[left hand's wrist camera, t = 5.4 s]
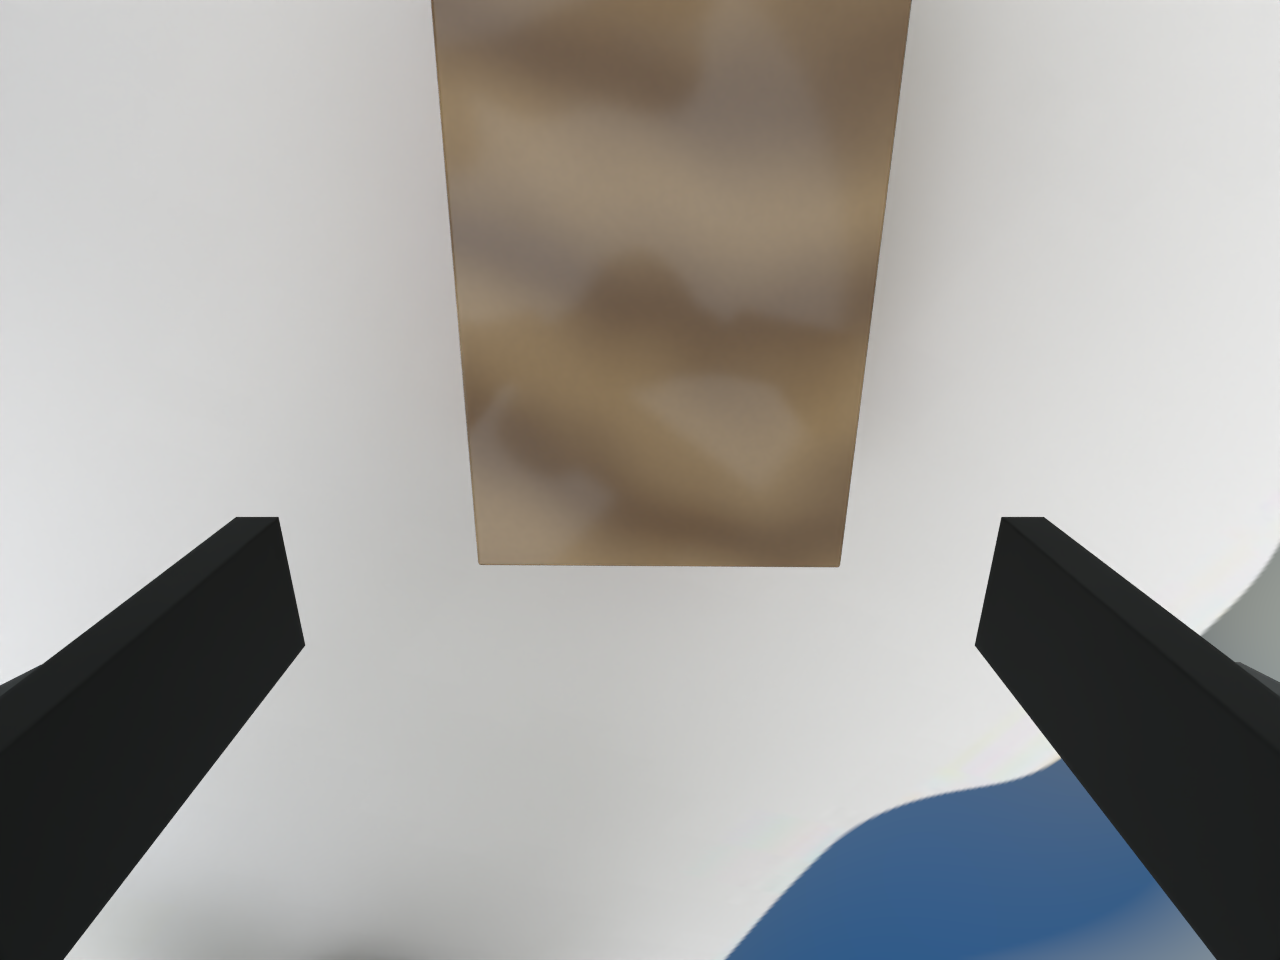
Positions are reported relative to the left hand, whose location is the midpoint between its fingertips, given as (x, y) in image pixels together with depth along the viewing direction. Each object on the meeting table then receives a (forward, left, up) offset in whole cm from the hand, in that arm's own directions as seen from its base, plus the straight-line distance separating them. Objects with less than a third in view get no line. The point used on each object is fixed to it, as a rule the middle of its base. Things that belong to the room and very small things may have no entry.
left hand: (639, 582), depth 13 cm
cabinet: (+2, -4, -15) cm, 16 cm away
